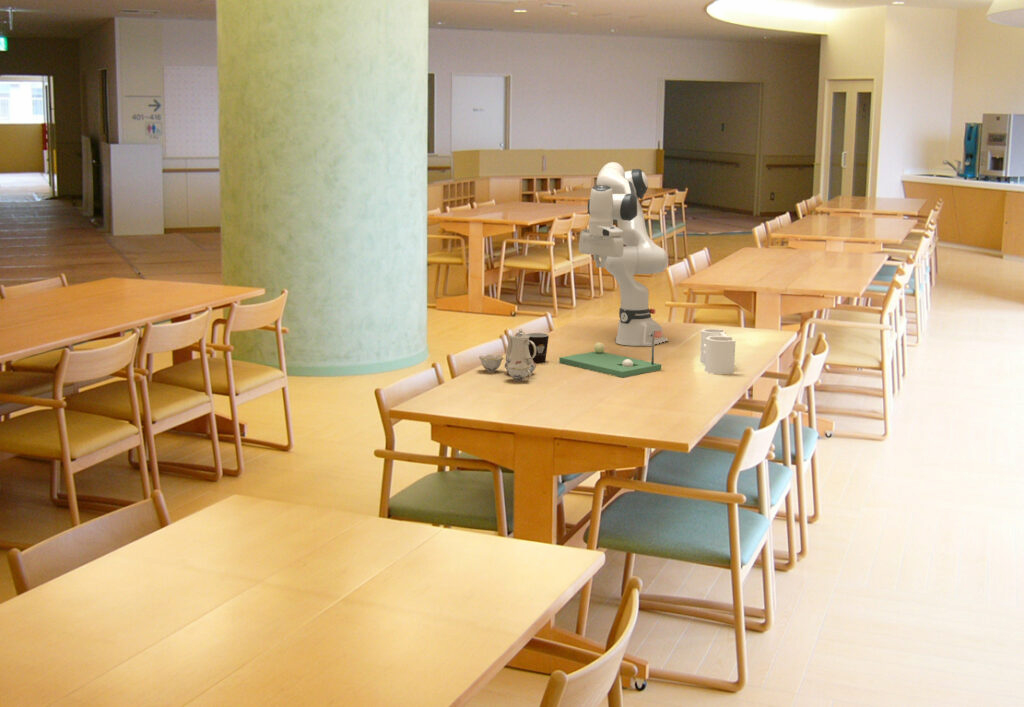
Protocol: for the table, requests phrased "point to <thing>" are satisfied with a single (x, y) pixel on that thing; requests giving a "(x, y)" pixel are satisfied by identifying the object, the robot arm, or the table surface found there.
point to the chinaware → (514, 358)
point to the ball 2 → (627, 363)
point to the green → (609, 364)
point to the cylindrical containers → (717, 351)
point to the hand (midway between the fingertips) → (600, 267)
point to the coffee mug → (538, 346)
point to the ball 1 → (599, 347)
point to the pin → (654, 335)
